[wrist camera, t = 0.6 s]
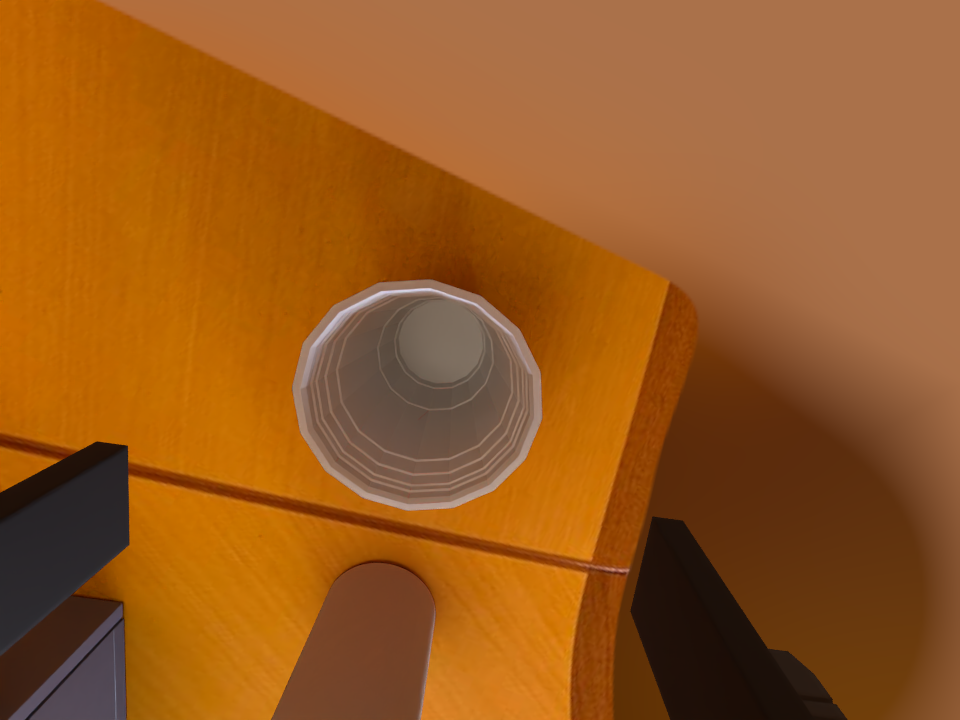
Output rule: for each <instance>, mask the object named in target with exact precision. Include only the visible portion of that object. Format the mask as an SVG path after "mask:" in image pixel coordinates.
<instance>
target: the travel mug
mask: <svg viewBox="0 0 960 720" xmlns="http://www.w3.org/2000/svg"><path fill="white" fill-rule="evenodd" d="M435 615H436V612H435V604H434V600H433V598H432V595H431V593H430V591H429V590H428V588H427V587H426V585H425V584H424V583H423V582H422V581H421V580H420V579H419V578H418V577H417V576H415V575H414V574H413V573H411V572H409V571H408V570H406V569H403V568H401V567H398V566H395V565H392V564H386V563H368V564H363V565H359V566H356V567H354V568H352V569H350V570H348V571H346V572H345V573H343V574H342V575H341V576H340V577H339V578H337V580H336V581H335V582H334V583H333V585H332V586H331V588H330V590H329V592H328V594H327V596H326V599H325V601H324V603H323V605H322V608H321V610H320V612H319V614H318V617H317V619H316V621H315V623H314V625H313V628H312V630H311V632H310V634H309V637H308V639H307V641H306V643H305V646H304V648H303V650H302V652H301V655H300V657H299V659H298V661H297V663H296V666H295V668H294V670H293V672H292V675H291V677H290V679H289V681H288V684H287V686H286V688H285V690H284V692H283V695H282V697H281V699H280V701H279V704H278V706H277V708H276V710H275V713H274V715H273V717H272V719H271V720H421V714H422V707H423V700H424V693H425V686H426V679H427V672H428V665H429V658H430V651H431V644H432V637H433V631H434V624H435Z"/></svg>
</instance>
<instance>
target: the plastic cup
mask: <svg viewBox="0 0 960 720" xmlns="http://www.w3.org/2000/svg"><path fill="white" fill-rule="evenodd" d="M292 391H293V396H294V402H295V407H296V412H297V418H298V423H299V428H300V433H301V435H302V436H303V438H304V439H305V441H306V442H307V444H308V445H309V447H310V448H311V450H312V451H313V453H314V454H315V456H316V457H317V459H318V460H319V462H320V463H321V465H322V466H323V468H324V469H325V471H326V472H328V473H329V474H330V475H332V476H333V477H335V478H336V479H337V480H339V481H340V482H342V483H343V484H344V485H346V486H347V487H348V488H350V489H351V490H353V491H354V492H355V493H357V494H358V495H360V496H361V497H362V498H365V499H369V500H372V501H375V502H379V503H382V504H386V505H389V506H393V507H396V508H400V509H403V510H407V511H410V510H428V509H445V508H454V507H456V506H459V505H461V504H463V503H466V502H468V501H470V500H473V499H475V498H477V497H480V496H482V495H484V494H487V493H489V492H491V491H494V490H495V489H496V488H497V487H498V486H499V485H500V484H501V483H502V482H503V481H504V480H505V479H506V478H507V477H508V476H509V475H510V474H511V473H512V472H513V471H514V470H515V469H516V468H517V467H518V466H519V465H520V464H521V463H522V462H523V461H524V460H525V459H526V457H527V454H528V452H529V449H530V447H531V444H532V442H533V440H534V437H535V435H536V432H537V430H538V427H539V425H540V423H541V420H542V395H541V372H540V370H539V368H538V366H537V364H536V362H535V360H534V358H533V356H532V354H531V352H530V349H529V347H528V345H527V343H526V341H525V339H524V337H523V335H522V333H521V331H520V329H519V328H518V327H516V326H515V325H514V324H513V323H512V322H511V321H510V320H508V319H507V318H506V317H505V316H504V315H503V314H501V313H500V312H499V311H498V310H497V309H496V308H495V307H493V306H492V305H491V304H490V303H489V302H488V301H486V300H485V299H484V298H483V297H482V296H480V295H477V294H474V293H471V292H468V291H465V290H462V289H459V288H456V287H453V286H450V285H447V284H444V283H441V282H438V281H435V280H432V279H426V280H411V281H396V282H380V283H377V284H375V285H373V286H371V287H369V288H367V289H365V290H363V291H361V292H359V293H357V294H355V295H353V296H351V297H349V298H347V299H345V300H343V301H341V302H339V303H337V304H335V305H333V307H332V308H331V309H330V310H329V311H328V313H327V314H326V315H325V316H324V318H323V319H322V320H321V321H320V323H319V324H318V325H317V326H316V328H315V329H314V330H313V331H312V333H311V334H310V335H309V336H308V337H307V339H306V340H305V341H304V342H303V345H302V349H301V353H300V357H299V361H298V366H297V370H296V374H295V378H294V382H293V386H292Z"/></svg>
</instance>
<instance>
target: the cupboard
mask: <svg viewBox="0 0 960 720" xmlns="http://www.w3.org/2000/svg"><path fill="white" fill-rule="evenodd" d="M25 720H126V686H125V642H124V618H121V619H120V620H119V621H118V622H117V623H116V624H115V625H114V626H113V627H112V628H111V629H110V630H109V631H108V632H107V633H106V634H105V635H104V636H103V637H102V639H101V640H100V641H99V642H98V643H97V644H96V645H95V646H94V647H93V648H92V649H91V650H90V651H89V652H88V653H87V654H86V655H85V656H84V658H83V659H82V660H81V661H80V662H79V663H78V664H77V665H76V666H75V667H74V668H73V669H72V670H71V671H70V672H69V673H68V674H67V675H66V676H65V678H64V679H63V680H62V681H61V682H60V683H59V684H58V685H57V686H56V687H55V688H54V689H53V690H52V691H51V692H50V693H49V694H48V695H47V696H46V698H45V699H44V700H43V701H42V702H41V703H40V704H39V705H38V706H37V707H36V708H35V709H34V710H33V711H32V712H31V713H30V714H29V715H28V717H27V718H26V719H25Z"/></svg>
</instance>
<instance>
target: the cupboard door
mask: <svg viewBox="0 0 960 720" xmlns="http://www.w3.org/2000/svg"><path fill="white" fill-rule="evenodd" d="M122 616H123V607H122V603H120V602H113V601H105V600H98V599H90V598H83V597H75V596H69V597H68V598H67V599H66V600H65V601H64V602H62V603H61V604H60V605H59V606H58V607H57V608H55V609H54V610H53V611H52V612H51V613H50V614H48V615H47V616H46V617H45V618H44V619H43V620H42V621H40V622H39V623H38V624H37V625H36V626H35V627H33V628H32V629H31V630H30V631H29V632H28V633H26V634H25V635H24V636H23V637H22V638H21V639H20V640H18V641H17V642H16V643H15V644H14V645H13V646H11V647H10V648H9V649H8V650H7V651H6V652H5V653H3V654H2V655H1V656H0V720H25V719H26V718H27V717H28V715H29V714H30V713H31V712H32V711H33V710H34V709H35V708H36V707H37V706H38V705H39V704H40V703H41V702H42V701H43V700H44V699H45V698H46V696H47V695H48V694H49V693H50V692H51V691H52V690H53V689H54V688H55V687H56V686H57V685H58V684H59V683H60V682H61V681H62V680H63V679H64V678H65V676H66V675H67V674H68V673H69V672H70V671H71V670H72V669H73V668H74V667H75V666H76V665H77V664H78V663H79V662H80V661H81V660H82V659H83V658H84V656H85V655H86V654H87V653H88V652H89V651H90V650H91V649H92V648H93V647H94V646H95V645H96V644H97V643H98V642H99V641H100V640H101V639H102V637H103V636H104V635H105V634H106V633H107V632H108V631H109V630H110V629H111V628H112V627H113V626H114V625H115V624H116V623H117V622H118V621H119V620H120V619H121V617H122Z"/></svg>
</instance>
